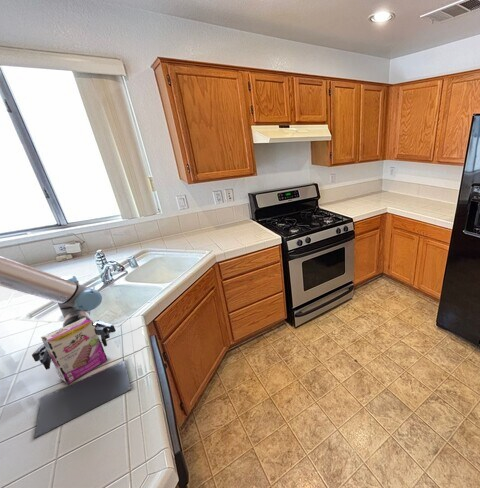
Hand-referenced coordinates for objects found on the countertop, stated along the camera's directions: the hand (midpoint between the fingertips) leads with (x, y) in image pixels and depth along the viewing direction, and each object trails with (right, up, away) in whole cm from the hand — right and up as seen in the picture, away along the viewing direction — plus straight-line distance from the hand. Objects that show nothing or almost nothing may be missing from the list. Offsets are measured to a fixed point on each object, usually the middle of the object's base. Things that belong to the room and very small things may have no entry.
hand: (76, 353), depth 81 cm
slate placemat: (+7, -10, -4) cm, 13 cm away
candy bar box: (-2, -8, +5) cm, 9 cm away
